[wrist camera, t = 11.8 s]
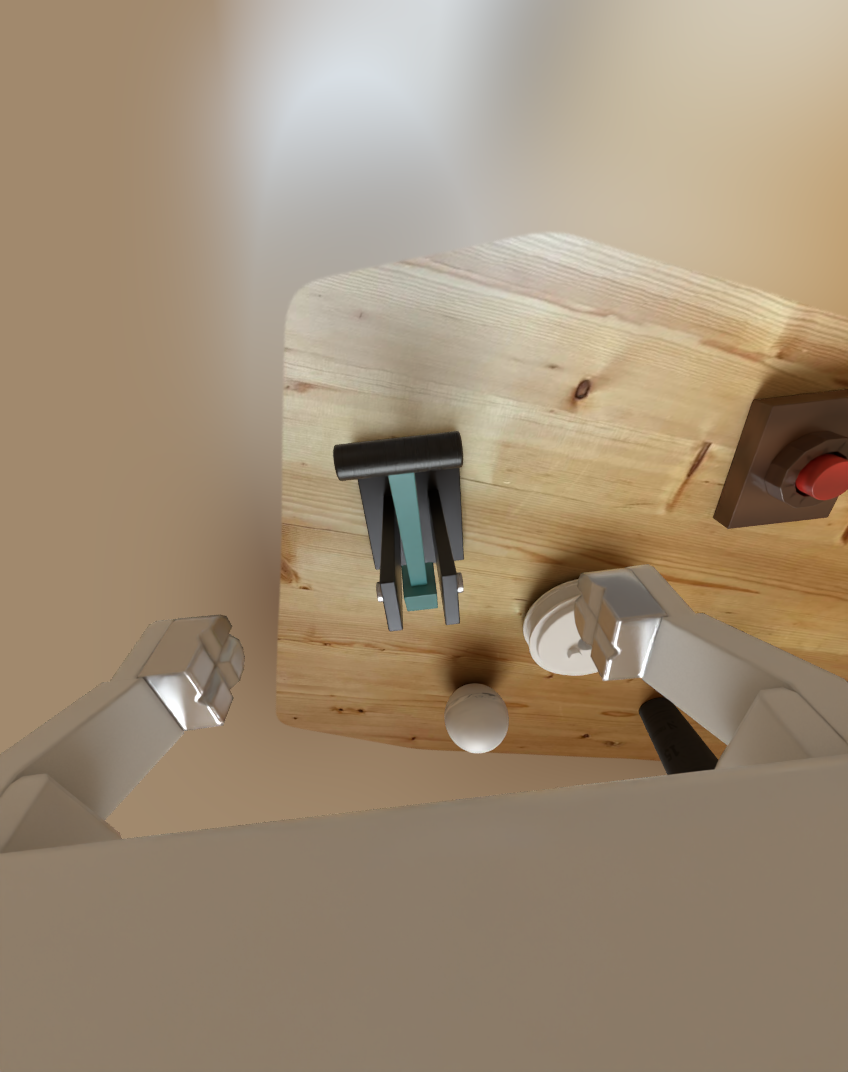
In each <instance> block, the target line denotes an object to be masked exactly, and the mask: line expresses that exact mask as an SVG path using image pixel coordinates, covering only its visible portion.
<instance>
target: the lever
mask: <svg viewBox="0 0 848 1072" xmlns="http://www.w3.org/2000/svg"><path fill="white" fill-rule="evenodd" d="M333 458H334V465H335V470H336V474H337V477H338V479H339V480H340V481H346V480H355V479H363V478H372V477H381V476H388V478H389V483H390V488H391V493H392V497H393V502H394V507H395V512H396V516H397V521H398V526H399V531H400V536H401V540H402V545H403V550H404V555H405V559H406V564H407V565H402V566H401V568H402V580H403V592H404V600H405V603H406V607H407V611H415V610H424V609H433V608H438V603H437V591H436V583H435V575H434V567H433V562H428V563H425V559H424V550H423V541H422V533H421V524H420V515H419V507H418V498H417V489H416V481H415V473H416V472H425V471H434V470H442V469H451V468H460V467H462V465H463V449H462V441H461V436H460V433H459V432H458V431H453V432H445V433H436V434H427V435H418V436H409V437H401V438H392V439H383V440H374V441H365V442H356V443H348V444H339V445H335V446H334V450H333Z"/></svg>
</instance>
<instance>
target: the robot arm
mask: <svg viewBox="0 0 848 1072" xmlns="http://www.w3.org/2000/svg"><path fill="white" fill-rule="evenodd" d="M577 587H578V589H579V591H580V592H581V595H580V596H579V597H578V598H577V599H576V600H575V605H574V618H575V624H576V627H577V630H578V633H579V635H580V637H581V639H582V641H584V642H585V643H587V644H588V645H590V646H591V647H592V650H591V656H590V657H591V658H592V660H593V662H594V664H595V666H596V668H597V670H598V672H599V674H600V676H601V677H602V679H603V681H608V680H620V679H631V678H642V677H643V679H642V680H644V681H645V682H646V683H648V684H649V685H650V686H651V687H653V688H654V689H655V690H657V691H658V692H659V693H661V694H662V695H663V696H664V697H666V698H667V699H668V700H670V701H671V702H672V703H673V704H675V705H676V706H677V707H679V708H680V709H681V710H682V711H684V712H685V713H686V714H688V715H689V716H690V717H692V718H693V719H694V720H695V721H697V722H698V723H699V724H701V725H702V726H703V727H704V728H706V729H707V730H708V731H710V732H711V733H712V734H714V735H715V736H716V737H717V738H719V739H720V740H721V741H723V742H724V743H725V744H726V745H727V747H726V749H725V750H724V752H723V754H722V755H721V757H720V759H719V760H718V762H717V765H716V767H715V769H714V770H705V771H697V772H688V773H680V774H672V775H663V776H656V777H646V778H638V779H629V780H621V781H613V782H604V783H595V784H586V785H578V786H569V787H561V788H553V789H544V790H536V791H527V792H519V793H509V794H501V795H493V796H484V797H475V798H467V799H459V800H450V801H442V802H433V803H425V804H416V805H407V806H399V807H390V808H382V809H373V810H365V811H356V812H349V813H339V814H332V815H322V816H315V817H305V818H297V819H289V820H280V821H271V822H263V823H256V824H246V825H238V826H229V827H221V828H212V829H204V830H195V831H187V832H178V833H170V834H161V835H153V836H144V837H136V838H127V839H122V838H121V835H120V833H119V832H118V831H117V830H115V829H114V828H113V827H112V826H110V825H109V824H108V823H107V822H105V819H106V818H107V817H108V816H109V815H110V814H111V813H112V812H113V811H114V810H115V808H116V807H117V806H118V805H119V804H120V803H121V802H122V801H123V800H124V799H125V797H126V796H127V795H128V794H129V793H130V792H131V791H132V790H133V789H134V788H135V787H136V785H137V784H138V783H139V782H140V781H141V780H142V779H143V778H144V777H145V775H146V774H147V773H148V772H149V771H150V770H151V769H152V768H153V767H154V766H155V765H156V763H157V762H158V761H159V760H160V759H161V758H162V757H163V756H164V755H165V754H166V752H167V751H168V750H169V749H170V748H171V747H172V746H173V745H174V743H176V741H177V740H178V739H179V738H180V737H181V736H182V735H183V734H184V732H183V731H186V730H193V729H200V728H207V727H214V726H221V725H223V724H224V721H225V719H226V716H227V714H228V711H229V708H230V706H231V703H232V700H233V696H232V693H231V691H230V689H231V688H232V687H233V686H234V685H236V684H237V683H238V682H239V681H240V679H241V676H242V673H243V670H244V659H245V656H244V651H243V647H242V645H241V643H240V641H239V639H237V638H235V637H234V636H232V635H230V634H229V632H230V630H231V628H232V625H231V623H230V621H229V620H228V618H227V616H224V615H211V616H201V617H189V618H179V619H173V620H161V621H155V622H153V623H152V624H150V625H149V626H148V627H147V629H146V630H145V631H144V633H143V634H142V636H141V637H140V639H139V640H138V642H137V643H136V644H135V646H134V647H133V649H132V650H131V652H130V653H129V654H128V656H127V657H126V659H125V660H124V662H123V663H122V665H121V666H120V667H119V669H118V670H117V672H116V673H115V674H114V676H113V677H112V679H111V680H110V682H103V683H101V684H99V685H98V686H96V687H95V688H94V689H92V690H91V691H89V692H88V693H87V694H85V695H84V696H82V697H81V698H79V699H78V700H77V701H75V702H74V703H72V704H71V705H70V706H68V707H67V708H65V709H64V710H62V711H61V712H60V713H58V714H57V715H55V716H54V717H53V718H51V719H50V720H48V721H47V722H45V723H44V724H43V725H41V726H40V727H38V728H37V729H36V730H34V731H33V732H31V733H30V734H29V735H27V736H26V737H24V738H23V739H21V740H20V741H19V742H17V743H16V744H14V745H13V746H12V747H10V748H9V749H7V750H6V751H4V752H3V753H2V754H0V1072H848V682H847V681H846V680H845V679H843V678H841V677H839V676H837V675H835V674H833V673H830V672H828V671H826V670H824V669H822V668H820V667H818V666H815V665H813V664H811V663H809V662H807V661H805V660H803V659H800V658H798V657H796V656H794V655H792V654H790V653H788V652H785V651H783V650H781V649H779V648H777V647H775V646H773V645H770V644H768V643H766V642H764V641H762V640H760V639H758V638H755V637H753V636H751V635H749V634H747V633H745V632H743V631H740V630H738V629H736V628H734V627H732V626H730V625H728V624H725V623H723V622H721V621H719V620H717V619H715V618H713V617H710V616H708V615H706V614H704V613H697V614H695V612H694V611H693V610H692V609H691V608H690V607H689V606H688V605H687V604H686V602H685V601H684V600H683V599H682V598H681V597H680V596H679V595H678V594H677V592H676V591H675V590H674V589H673V588H672V587H671V586H670V585H669V584H668V582H667V581H666V580H665V579H664V578H663V577H662V576H661V575H660V574H659V572H658V571H657V570H656V569H655V568H654V567H653V566H651V565H649V564H646V565H638V566H631V567H625V568H618V569H610V570H602V571H593V572H585V573H581V575H580V576H579V579H578V585H577Z"/></svg>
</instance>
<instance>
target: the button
mask: <svg viewBox="0 0 848 1072" xmlns="http://www.w3.org/2000/svg"><path fill="white" fill-rule="evenodd" d="M795 483H796V487H797V488H798V489H799V490H800V491H802V492H804V493H806V494H808V495H810V496H812V497H814V498H816V499H818V500H829V499H832V498H835V497H837V496H839V495H841V494H842V493H844V492H845V491H846V490H847V489H848V460H847V459H844V458H841V457H839V456H836V455H834V454H823V455H820V456H818V457H816V458H815V459H813V460H811V461H810V462H809V463H808V464H807V465H806V466H805V467H804V468H803V469H802V470H801V471H800V472H799V475H798V477H797V479H796V482H795Z"/></svg>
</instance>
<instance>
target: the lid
mask: <svg viewBox="0 0 848 1072" xmlns="http://www.w3.org/2000/svg"><path fill="white" fill-rule="evenodd" d="M577 585H578V579H576V580H572V581H569V582H566V583H563V584H561V585H558V586H556V587H554V588H552V589H551V590H549V591H548V592H546V593H545V594H543V595H542V596H541V597H540V598H539V599H538V600H537V601H535V603H534V604H533V605H532V606H531V608H530V609H529V611H528V612H527V614H526V617H525V620H524V624H523V633H524V637H525V640H526V642H527V643H528V645H529V650H530V653H531V656H532V658H533V659H534V661H535V662H536V663H537V664H538V665H539V666H540V667H542V668H544V669H545V670H548V671H550V672H553V673H557V674H563V675H586V674H591V673H595V672H598V670H597V668H596V666H595V664H594V662H593V660H592V658H591V657H590V656H591V650H592V647H591V646H590V645H588V644H587V643H585V642H584V641H582V639H581V637H580V635H579V633H578V630H577V627H576V624H575V618H574V605H575V600H576V599H577V598H578V597H579V596H580V595H581V592H580V591H579V589H578V587H577Z"/></svg>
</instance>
